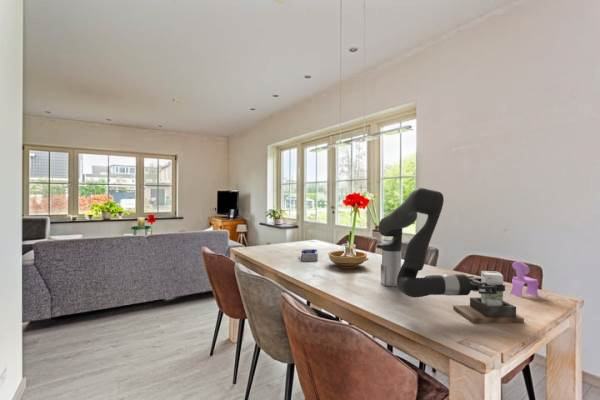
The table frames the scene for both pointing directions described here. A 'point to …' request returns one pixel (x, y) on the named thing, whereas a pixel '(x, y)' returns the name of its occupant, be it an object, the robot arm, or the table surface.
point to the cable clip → (310, 253)
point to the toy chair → (523, 280)
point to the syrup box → (493, 279)
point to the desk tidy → (309, 255)
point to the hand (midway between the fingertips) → (496, 284)
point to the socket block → (488, 312)
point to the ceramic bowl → (347, 259)
